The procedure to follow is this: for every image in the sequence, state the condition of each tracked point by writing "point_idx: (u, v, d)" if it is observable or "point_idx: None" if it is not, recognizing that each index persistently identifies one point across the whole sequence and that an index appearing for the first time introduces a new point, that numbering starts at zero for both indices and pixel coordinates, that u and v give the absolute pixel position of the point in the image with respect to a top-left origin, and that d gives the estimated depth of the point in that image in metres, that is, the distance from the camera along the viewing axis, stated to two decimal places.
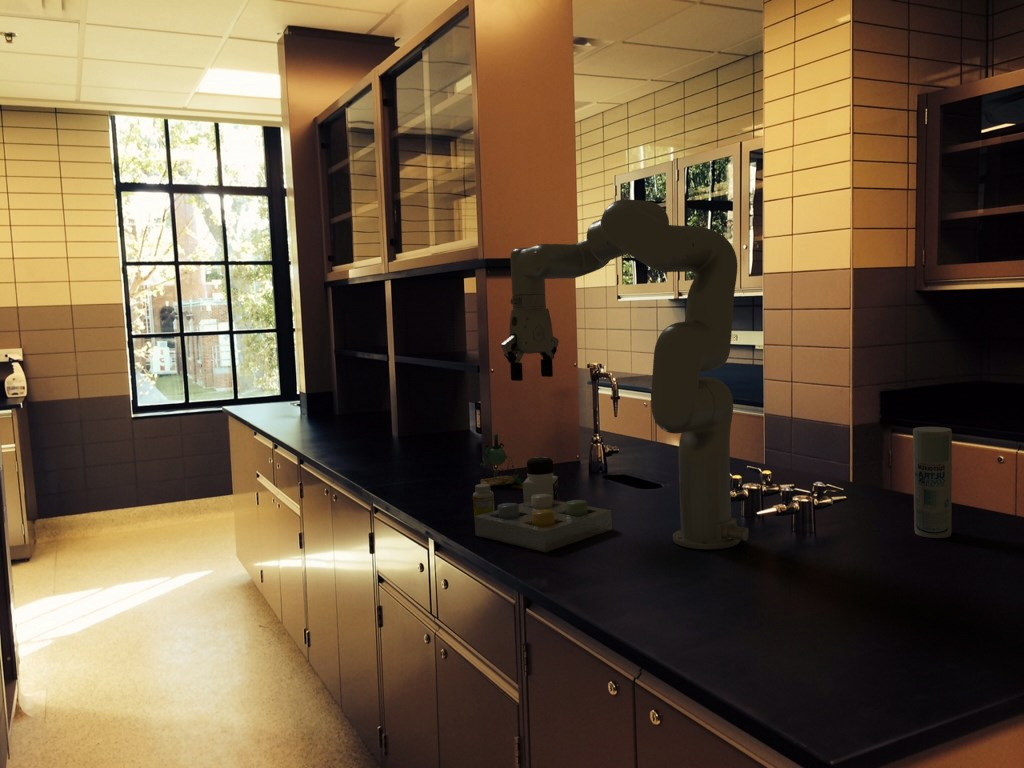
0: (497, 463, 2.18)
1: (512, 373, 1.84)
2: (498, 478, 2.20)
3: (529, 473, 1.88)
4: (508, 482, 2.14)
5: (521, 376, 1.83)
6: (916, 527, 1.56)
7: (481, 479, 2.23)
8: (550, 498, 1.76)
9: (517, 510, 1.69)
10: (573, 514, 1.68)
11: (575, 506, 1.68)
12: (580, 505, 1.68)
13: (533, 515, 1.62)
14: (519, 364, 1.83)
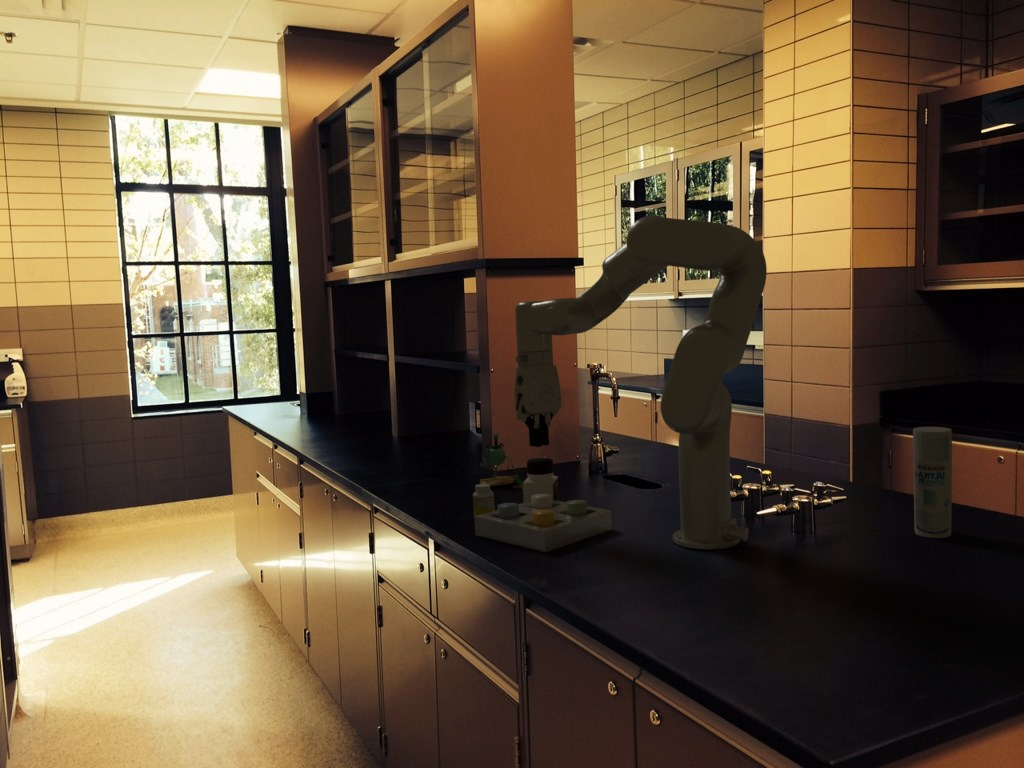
0: (497, 463, 2.18)
1: (531, 439, 1.75)
2: (498, 478, 2.21)
3: (529, 473, 1.88)
4: (508, 482, 2.14)
5: (540, 442, 1.74)
6: (916, 527, 1.56)
7: (481, 479, 2.23)
8: (550, 498, 1.76)
9: (517, 510, 1.69)
10: (573, 514, 1.68)
11: (575, 506, 1.68)
12: (580, 505, 1.68)
13: (533, 515, 1.62)
14: (538, 430, 1.74)
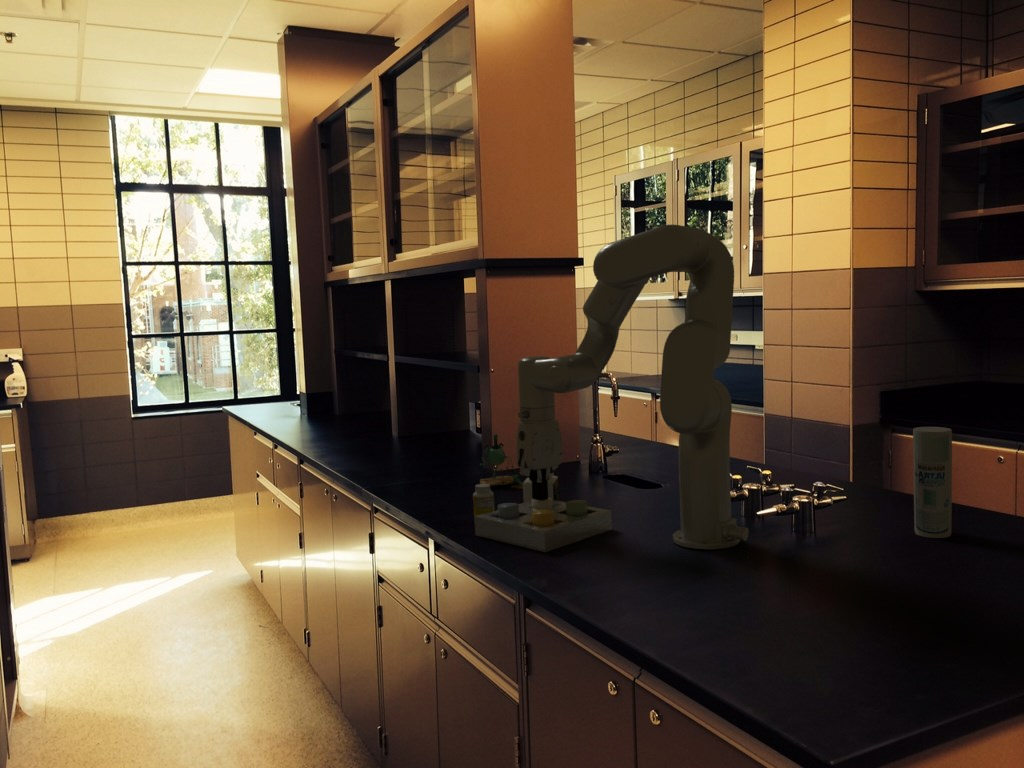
0: (496, 463, 2.18)
1: (534, 492, 1.76)
2: (497, 478, 2.21)
3: None
4: (507, 482, 2.14)
5: (543, 496, 1.76)
6: (916, 527, 1.56)
7: (480, 479, 2.23)
8: (550, 501, 1.76)
9: (517, 510, 1.69)
10: (573, 514, 1.68)
11: (575, 506, 1.68)
12: (580, 505, 1.68)
13: (533, 515, 1.62)
14: (541, 483, 1.76)
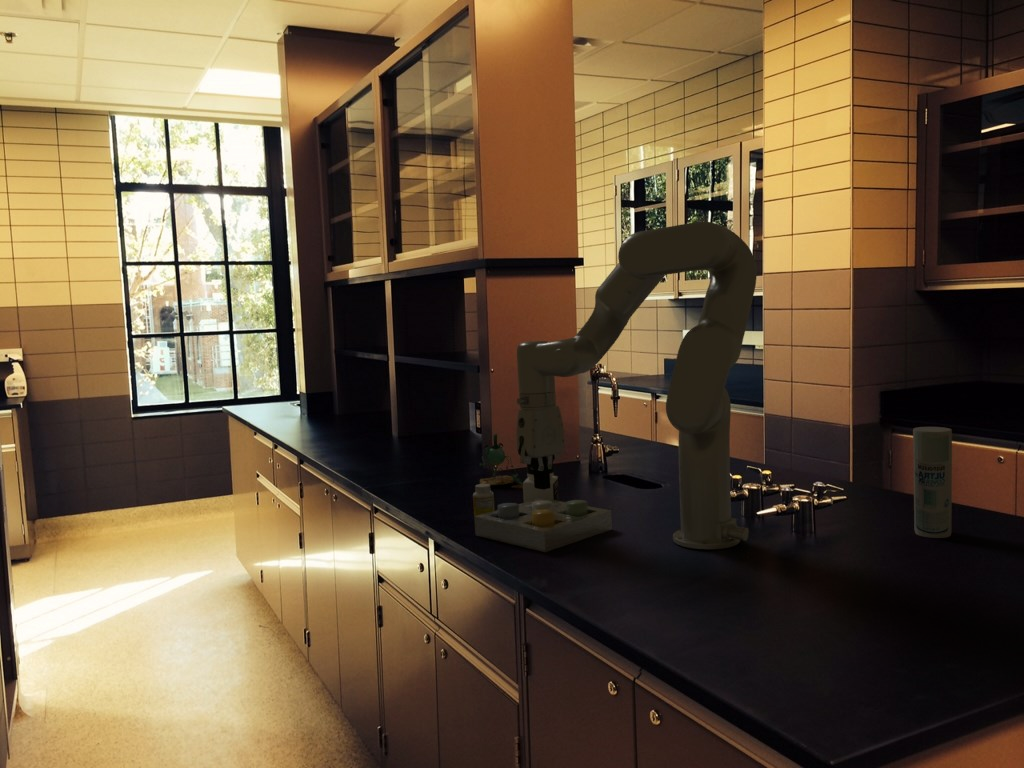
0: (496, 463, 2.19)
1: (535, 481, 1.71)
2: (497, 478, 2.21)
3: (529, 473, 1.88)
4: (507, 482, 2.14)
5: (545, 485, 1.71)
6: (916, 527, 1.56)
7: (480, 479, 2.23)
8: (550, 505, 1.76)
9: (517, 510, 1.69)
10: (573, 514, 1.68)
11: (575, 506, 1.68)
12: (580, 505, 1.68)
13: (533, 515, 1.62)
14: (543, 472, 1.70)
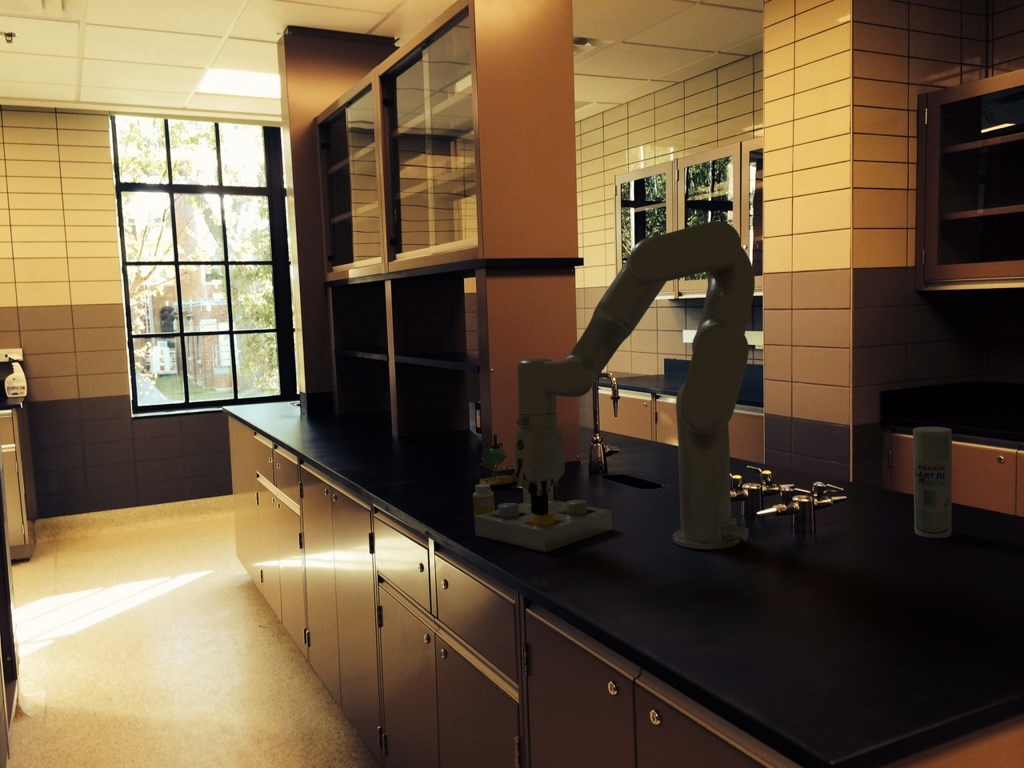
0: (496, 463, 2.19)
1: (533, 506, 1.62)
2: (497, 478, 2.21)
3: None
4: (507, 482, 2.15)
5: (543, 510, 1.62)
6: (916, 527, 1.56)
7: (480, 479, 2.23)
8: (550, 505, 1.76)
9: (517, 510, 1.69)
10: (573, 514, 1.68)
11: (575, 506, 1.68)
12: (580, 505, 1.68)
13: (533, 516, 1.62)
14: (541, 497, 1.61)
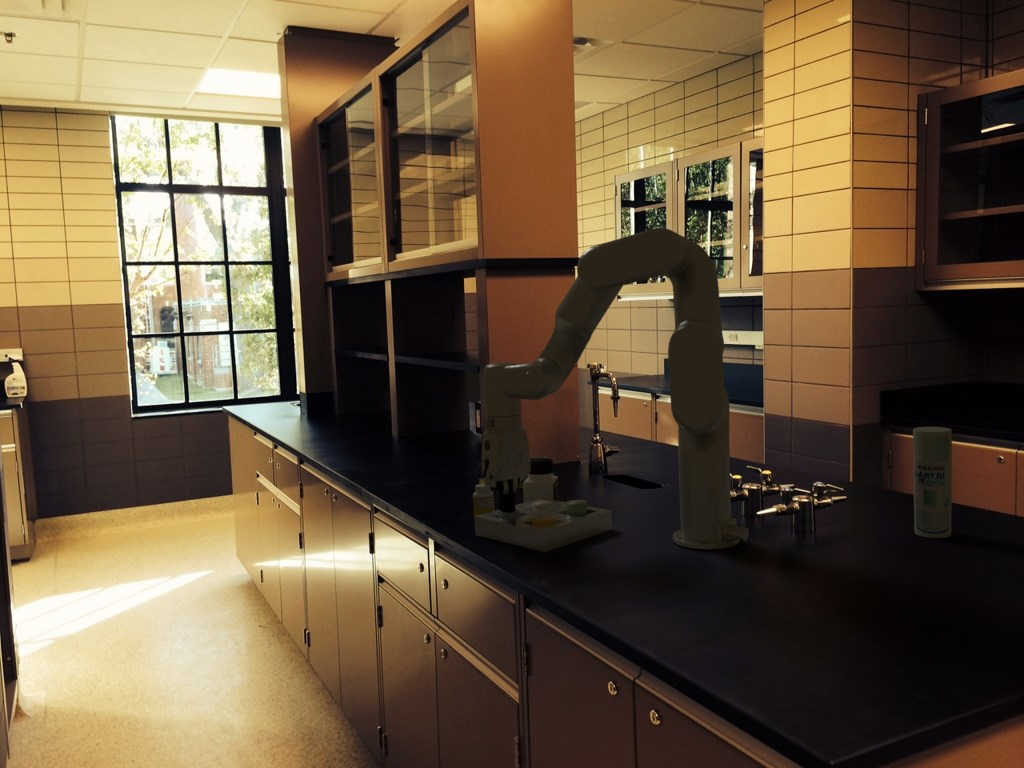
0: None
1: (500, 504, 1.70)
2: None
3: (529, 473, 1.88)
4: None
5: (510, 508, 1.69)
6: (916, 527, 1.56)
7: (480, 479, 2.24)
8: (550, 505, 1.76)
9: (517, 516, 1.69)
10: (573, 514, 1.68)
11: (575, 506, 1.68)
12: (580, 505, 1.68)
13: (533, 522, 1.62)
14: (508, 495, 1.69)
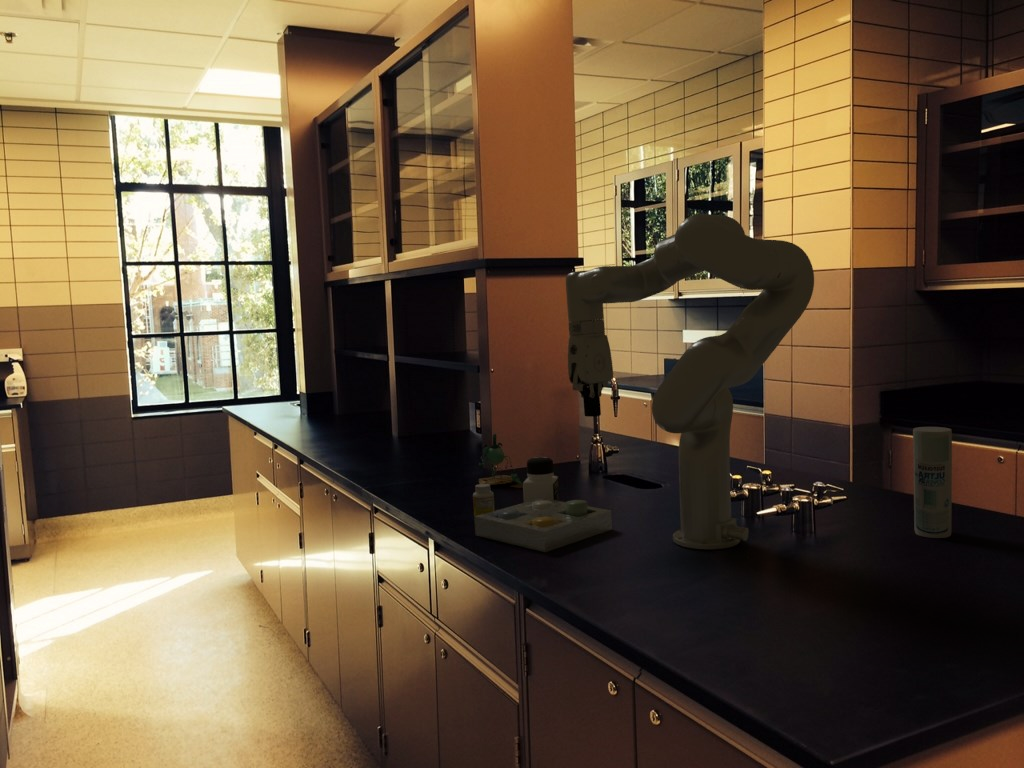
0: (495, 463, 2.19)
1: (586, 409, 1.74)
2: (496, 477, 2.21)
3: (529, 473, 1.88)
4: (506, 481, 2.15)
5: (596, 411, 1.74)
6: (916, 527, 1.56)
7: None
8: (550, 505, 1.76)
9: None
10: (573, 514, 1.68)
11: (575, 506, 1.68)
12: (580, 505, 1.68)
13: (533, 522, 1.62)
14: (594, 399, 1.74)
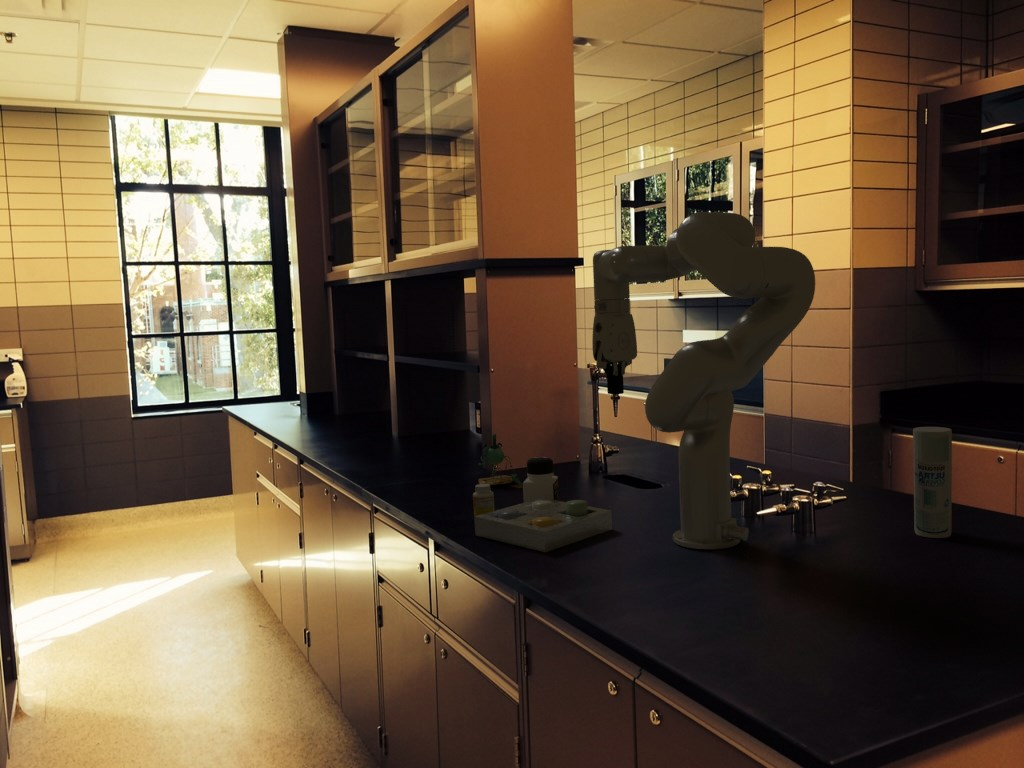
0: (495, 463, 2.19)
1: (609, 386, 1.77)
2: (496, 478, 2.21)
3: (529, 473, 1.88)
4: (506, 482, 2.15)
5: (619, 389, 1.76)
6: (916, 527, 1.56)
7: (479, 479, 2.24)
8: (550, 505, 1.76)
9: None
10: (573, 514, 1.68)
11: (575, 506, 1.68)
12: (580, 505, 1.68)
13: (533, 522, 1.62)
14: (617, 377, 1.76)
